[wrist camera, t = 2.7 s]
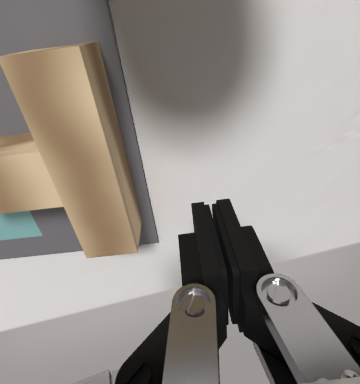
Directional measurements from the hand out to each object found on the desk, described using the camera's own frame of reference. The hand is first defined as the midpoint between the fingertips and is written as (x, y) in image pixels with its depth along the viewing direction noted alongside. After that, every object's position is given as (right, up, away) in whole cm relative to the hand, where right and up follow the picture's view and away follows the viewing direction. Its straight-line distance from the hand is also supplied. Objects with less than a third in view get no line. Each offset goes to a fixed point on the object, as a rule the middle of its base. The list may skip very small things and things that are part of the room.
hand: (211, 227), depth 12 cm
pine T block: (-12, +4, +8) cm, 15 cm away
